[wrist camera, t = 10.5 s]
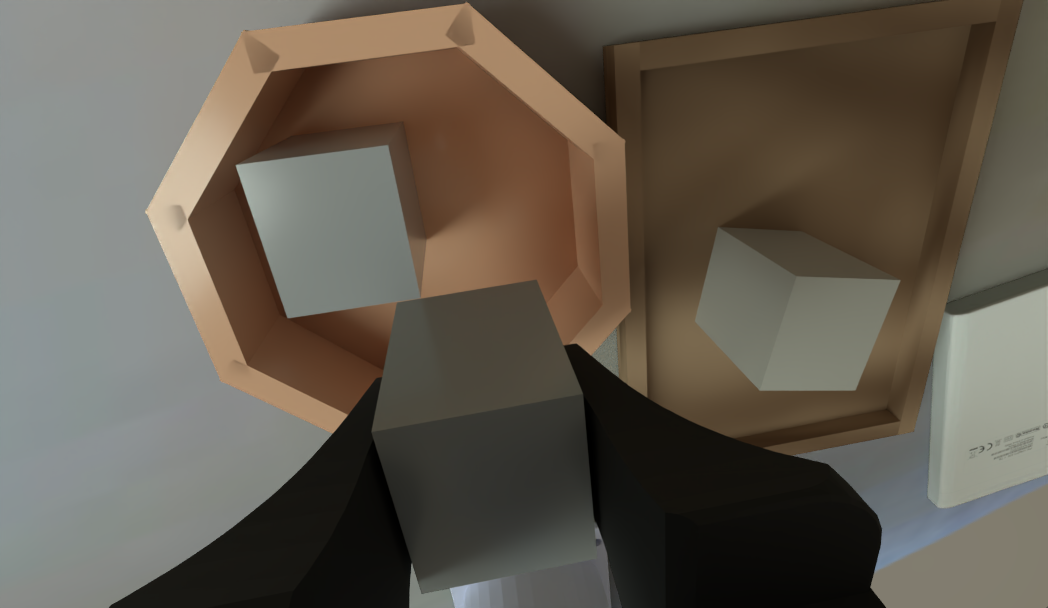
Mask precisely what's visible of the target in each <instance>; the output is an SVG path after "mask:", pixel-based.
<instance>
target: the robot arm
mask: <svg viewBox="0 0 1048 608" xmlns="http://www.w3.org/2000/svg"><path fill="white" fill-rule="evenodd" d="M563 346H564V348H565V351H566V353H567V356H568V358H569V361H570V363H571V365H572V368H573V370H574V373H575V375H576V378H577V380H578V383H579V385H580V388H581V390H582V393H583V400H584V411H585V423H586V434H587V446H588V457H589V469H590V480H591V492H592V503H593V515H594V519H595V521H596V522H595V523H594V527H595V538H596V550H597V559H592V560H587V561H582V562H577V563H572V564H567V565H563V566H558V567H553V568H548V569H543V570H538V571H533V572H528V573H523V574H518V575H513V576H508V577H503V578H498V579H493V580H488V581H484V582H479V583H474V584H469V585H464V586H459V587H454V588H450V590H451V594H452V598H453V601H454V605H455V608H611V598H610V584H609V571H608V559H609V562H610V566H611V569H612V573H613V576H614V580H615V583H616V587H617V590H618V594H619V597H620V601H621V605H622V608H886V607H885V606H884V604H883V603H882V602H881V601H880V599H879V598H878V597H877V595H876V594H875V593H874V592H873V591H872V589H871V588H870V586H871V582H872V578H873V574H874V570H875V566H876V562H877V558H878V554H879V550H880V546H881V535H882V528H881V525H880V522H879V519H878V516H877V514H876V513H875V512H874V511H873V510H872V509H871V508H870V507H869V506H868V505H867V504H866V503H865V501H864V500H863V499H862V498H861V497H860V496H859V495H858V493H857V492H856V491H855V490H854V489H853V488H852V487H851V486H850V485H849V484H848V483H847V482H846V481H845V480H844V479H843V478H842V477H841V476H840V475H839V474H838V473H837V472H836V471H835V470H834V469H833V468H831V467H830V466H829V465H828V464H825V463H821V462H816V461H812V460H808V459H804V458H799V457H795V456H791V455H787V454H782V453H778V452H774V451H771V450H768V449H764V448H761V447H758V446H755V445H751V444H748V443H745V442H742V441H739V440H736V439H734V438H731V437H728V436H725V435H723V434H720V433H718V432H715V431H713V430H710V429H708V428H705V427H703V426H701V425H698V424H696V423H694V422H692V421H690V420H687V419H685V418H683V417H681V416H679V415H677V414H676V413H674V412H672V411H670V410H668V409H666V408H664V407H662V406H660V405H659V404H657V403H655V402H654V401H652V400H650V399H649V398H647V397H646V396H644V395H642V394H641V393H639V392H638V391H636V390H635V389H633V388H632V387H630V386H629V385H628V384H626V383H625V382H624V381H622V380H621V379H620V378H618V377H617V376H616V375H614V374H613V373H612V372H610V371H609V370H608V369H607V368H605V367H604V366H603V365H602V364H601V363H599V362H598V361H597V360H596V359H595V358H593V357H592V356H591V355H590V354H589V353H588V352H586V351H585V350H584V349H583V348H582V347H581V346H579V345H578V344H577V343H575V344H569V345H563ZM381 381H382V377H379V378H376V379H375V380H374V382H373V383H372V384H371V386H370V387H369V388H368V389H367V391H366V392H365V393H364V395H363V396H362V397H361V399H360V400H359V401H358V403H357V404H356V405H355V407H354V408H353V409H352V410H351V412H350V413H349V414H348V416H347V417H346V418H345V419H344V421H343V422H342V423H341V424H340V426H339V427H338V428H337V429H336V431H335V432H334V433H333V434H332V435H331V436H330V437H329V439H328V440H327V441H326V442H325V443H324V444H323V445H322V447H321V448H320V449H319V450H318V451H317V452H316V453H315V454H314V456H313V457H312V458H311V459H310V460H309V461H308V462H307V463H306V464H305V465H304V466H303V467H302V468H301V469H300V470H299V471H298V472H297V473H296V474H295V475H294V476H293V477H292V478H291V479H290V480H289V481H288V482H286V483H285V484H284V485H283V486H282V487H281V488H280V489H279V490H278V491H277V492H276V493H274V494H273V495H272V496H271V497H270V498H269V499H267V500H266V501H265V502H264V503H262V504H261V505H260V506H259V507H258V508H256V509H255V510H254V511H253V512H251V513H250V514H249V515H248V516H246V517H245V518H244V519H243V520H241V521H240V522H239V523H238V524H236V525H235V526H234V527H233V528H231V529H230V530H229V531H227V532H226V533H224V534H223V535H222V536H220V537H219V538H217V539H216V540H215V541H213V542H212V543H211V544H209V545H208V546H206V547H205V548H203V549H202V550H200V551H199V552H197V553H196V554H194V555H193V556H191V557H190V558H188V559H187V560H185V561H184V562H182V563H181V564H179V565H178V566H176V567H175V568H173V569H171V570H170V571H168V572H166V573H165V574H163V575H161V576H160V577H158V578H156V579H155V580H153V581H151V582H150V583H148V584H146V585H145V586H143V587H141V588H140V589H138V590H136V591H135V592H133V593H131V594H130V595H128V596H126V597H125V598H123V599H121V600H119V601H118V602H116V603H114V604H112V605H111V606H110V607H109V608H409V588H410V574H411V563H412V561H411V558H410V555H409V551H408V548H407V545H406V542H405V539H404V535H403V532H402V529H401V526H400V523H399V519H398V516H397V513H396V510H395V506H394V503H393V500H392V497H391V494H390V490H389V487H388V484H387V481H386V477H385V474H384V471H383V468H382V465H381V461H380V458H379V455H378V452H377V449H376V445H375V442H374V439H373V436H372V432H371V431H372V426H373V421H374V416H375V411H376V406H377V401H378V396H379V391H380V386H381ZM607 555H608V557H607ZM1047 608H1048V607H1047Z"/></svg>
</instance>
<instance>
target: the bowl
mask: <svg viewBox="0 0 1048 608" xmlns="http://www.w3.org/2000/svg"><path fill="white" fill-rule="evenodd" d="M395 122H404V127H405V132H406V137H407V143H408V148H409V153H410V158H411V163H412V168H413V173H414V178H415V183H416V188H417V193H418V198H419V203H420V209H421V214H422V219H423V224H424V229H425V234H426V239H427V242H426V251H425V261H424V271H423V280H422V290H421V298H427V297H433V296H439V295H446V294H452V293H458V292H464V291H470V290H476V289H482V288H488V287H494V286H500V285H506V284H512V283H518V282H525V281H531V280H537V282H538V284H539V287H540V289H541V291H542V294H543V296H544V299H545V301H546V304H547V306H548V309H549V311H550V314H551V316H552V319H553V321H554V324H555V326H556V328H557V331H558V333H559V336H560V338H561V341H562V343H563V345H569V344H575V343H577V344H578V345H579V346H581V347H582V348H583V349H584V350H585V351H586V352H588V353H589V354H590V355H592V354H593V353H594V352H595V351H596V349H597V348H598V347H599V346H600V345H601V344H602V343H603V342H604V340H605V339H606V338H607V337H608V336H609V335H610V334H611V333H612V332H613V330H614V329H615V328H616V327H617V326H618V325H619V324H620V323H621V321H622V320H623V319H624V318H625V317H626V316H627V315H628V314H629V313H630V312H631V306H630V278H629V250H628V222H627V194H626V166H625V142H626V141H625V139H623V138H621V137H620V136H619V135H618V134H616V133H615V132H614V131H613V130H612V129H611V128H610V127H608V126H607V125H606V124H605V123H604V122H603V121H602V120H600V119H599V118H598V117H597V116H596V115H595V114H594V113H593V112H591V111H590V110H589V109H588V108H587V107H586V106H585V105H583V104H582V103H581V102H580V101H579V100H578V99H577V98H575V97H574V96H573V95H572V94H571V93H570V92H569V91H567V90H566V89H565V88H564V87H563V86H562V85H561V84H559V83H558V82H557V81H556V80H555V79H554V78H553V77H551V76H550V75H549V74H548V73H547V72H546V71H545V70H543V69H542V68H541V67H540V66H539V65H538V64H537V63H535V62H534V61H533V60H532V59H531V58H530V57H529V56H527V55H526V54H525V53H524V52H523V51H522V50H521V49H519V48H518V47H517V46H516V45H515V44H514V43H513V42H511V41H510V40H509V39H508V38H507V37H506V36H505V35H503V34H502V33H501V32H500V31H499V30H498V29H497V28H495V27H494V26H493V25H492V24H491V23H490V22H489V21H487V20H486V19H485V18H484V17H483V16H482V15H481V14H480V13H478V12H477V11H476V10H475V9H474V8H473V7H472V6H470V3H467V2H466V3H465V4H458V5H451V6H443V7H435V8H427V9H419V10H411V11H403V12H395V13H388V14H380V15H372V16H364V17H356V18H348V19H340V20H332V21H325V22H317V23H309V24H301V25H293V26H285V27H277V28H269V29H262V30H254V31H248V30H243V32H241V36H240V38H239V40H238V41H237V43H236V45H235V47H234V49H233V51H232V53H231V54H230V56H229V58H228V60H227V62H226V64H225V66H224V67H223V69H222V71H221V73H220V75H219V77H218V79H217V80H216V82H215V84H214V86H213V88H212V90H211V92H210V93H209V95H208V97H207V99H206V101H205V103H204V105H203V106H202V108H201V110H200V112H199V114H198V116H197V118H196V119H195V121H194V123H193V125H192V127H191V129H190V131H189V132H188V134H187V136H186V138H185V140H184V142H183V144H182V145H181V147H180V149H179V151H178V153H177V155H176V157H175V158H174V160H173V162H172V164H171V166H170V168H169V170H168V171H167V173H166V175H165V177H164V179H163V181H162V183H161V184H160V186H159V188H158V190H157V192H156V194H155V196H154V197H153V199H152V201H151V203H150V205H149V207H148V209H146V212H145V213H146V214H147V215H148V217H149V219H150V222H151V224H152V226H153V228H154V231H155V233H156V235H157V237H158V240H159V242H160V244H161V246H162V249H163V251H164V253H165V255H166V258H167V260H168V262H169V264H170V267H171V269H172V271H173V273H174V276H175V278H176V280H177V282H178V285H179V287H180V289H181V292H182V294H183V296H184V298H185V301H186V303H187V305H188V307H189V310H190V312H191V314H192V316H193V319H194V321H195V323H196V325H197V328H198V330H199V332H200V334H201V337H202V339H203V341H204V343H205V346H206V348H207V350H208V352H209V355H210V357H211V359H212V361H213V364H214V366H215V368H216V371H217V373H218V375H219V377H220V381H221V382H224V383H226V384H229V385H231V386H233V387H235V388H237V389H239V390H241V391H243V392H246V393H248V394H250V395H252V396H254V397H256V398H258V399H260V400H263V401H265V402H267V403H269V404H271V405H273V406H275V407H277V408H280V409H282V410H284V411H286V412H288V413H290V414H292V415H294V416H297V417H299V418H301V419H303V420H305V421H307V422H309V423H311V424H314V425H316V426H318V427H320V428H322V429H324V430H326V431H328V432H331V433H334V432H335V431H336V429H337V428H338V427H339V426H340V424H341V423H342V422H343V421H344V419H345V418H346V417H347V416H348V414H349V413H350V412H351V410H352V409H353V408H354V407H355V405H356V404H357V403H358V401H359V400H360V399H361V397H362V396H363V395H364V393H365V392H366V391H367V389H368V388H369V387H370V386H371V384H372V383H373V382H374V380H375V379H376V378H379V377H382V376H383V370H384V365H385V360H386V355H387V350H388V345H389V340H390V335H391V330H392V325H393V320H394V315H395V310H396V304H397V302H392V303H385V304H379V305H372V306H366V307H359V308H353V309H346V310H339V311H333V312H326V313H320V314H313V315H307V316H300V317H294V318H287V315H286V312H285V309H284V306H283V303H282V301H281V298H280V295H279V292H278V289H277V286H276V283H275V280H274V277H273V274H272V271H271V268H270V265H269V262H268V259H267V256H266V254H265V251H264V248H263V245H262V242H261V239H260V236H259V233H258V230H257V227H256V224H255V221H254V218H253V215H252V212H251V209H250V206H249V204H248V201H247V198H246V195H245V192H244V189H243V186H242V183H241V180H240V177H239V174H238V171H237V168H236V164H238V163H240V162H242V161H244V160H246V159H248V158H250V157H252V156H254V155H256V154H258V153H260V152H261V151H263V150H265V149H267V148H269V147H271V146H273V145H275V144H277V143H279V142H281V141H283V140H285V139H286V138H288V137H290V136H293V135H301V134H309V133H317V132H325V131H332V130H340V129H348V128H356V127H364V126H371V125H379V124H387V123H395ZM421 298H418V299H421ZM411 300H415V299H411ZM405 301H409V300H405ZM398 302H403V301H398Z"/></svg>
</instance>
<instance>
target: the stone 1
mask: <svg viewBox="0 0 1048 608" xmlns="http://www.w3.org/2000/svg"><path fill="white" fill-rule="evenodd" d="M236 168H237V171H238V174H239V177H240V180H241V183H242V186H243V189H244V192H245V195H246V198H247V201H248V204H249V206H250V209H251V212H252V215H253V218H254V221H255V224H256V227H257V230H258V233H259V236H260V239H261V242H262V245H263V248H264V251H265V254H266V256H267V259H268V262H269V265H270V268H271V271H272V274H273V277H274V280H275V283H276V286H277V289H278V292H279V295H280V298H281V301H282V303H283V306H284V309H285V312H286V315H287V318H294V317H300V316H307V315H313V314H320V313H326V312H333V311H339V310H346V309H353V308H359V307H366V306H372V305H379V304H385V303H392V302H398V301H405V300H411V299H418V298H421V290H422V280H423V271H424V261H425V251H426V242H427V239H426V234H425V229H424V224H423V219H422V214H421V209H420V203H419V198H418V193H417V188H416V183H415V178H414V173H413V168H412V163H411V158H410V153H409V148H408V143H407V137H406V132H405V127H404V122H395V123H387V124H379V125H371V126H364V127H356V128H348V129H340V130H332V131H325V132H317V133H309V134H301V135H293V136H290V137H288V138H286V139H285V140H283V141H281V142H279V143H277V144H275V145H273V146H271V147H269V148H267V149H265V150H263V151H261V152H260V153H258V154H256V155H254V156H252V157H250V158H248V159H246V160H244V161H242V162H240V163H238V164H236Z"/></svg>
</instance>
